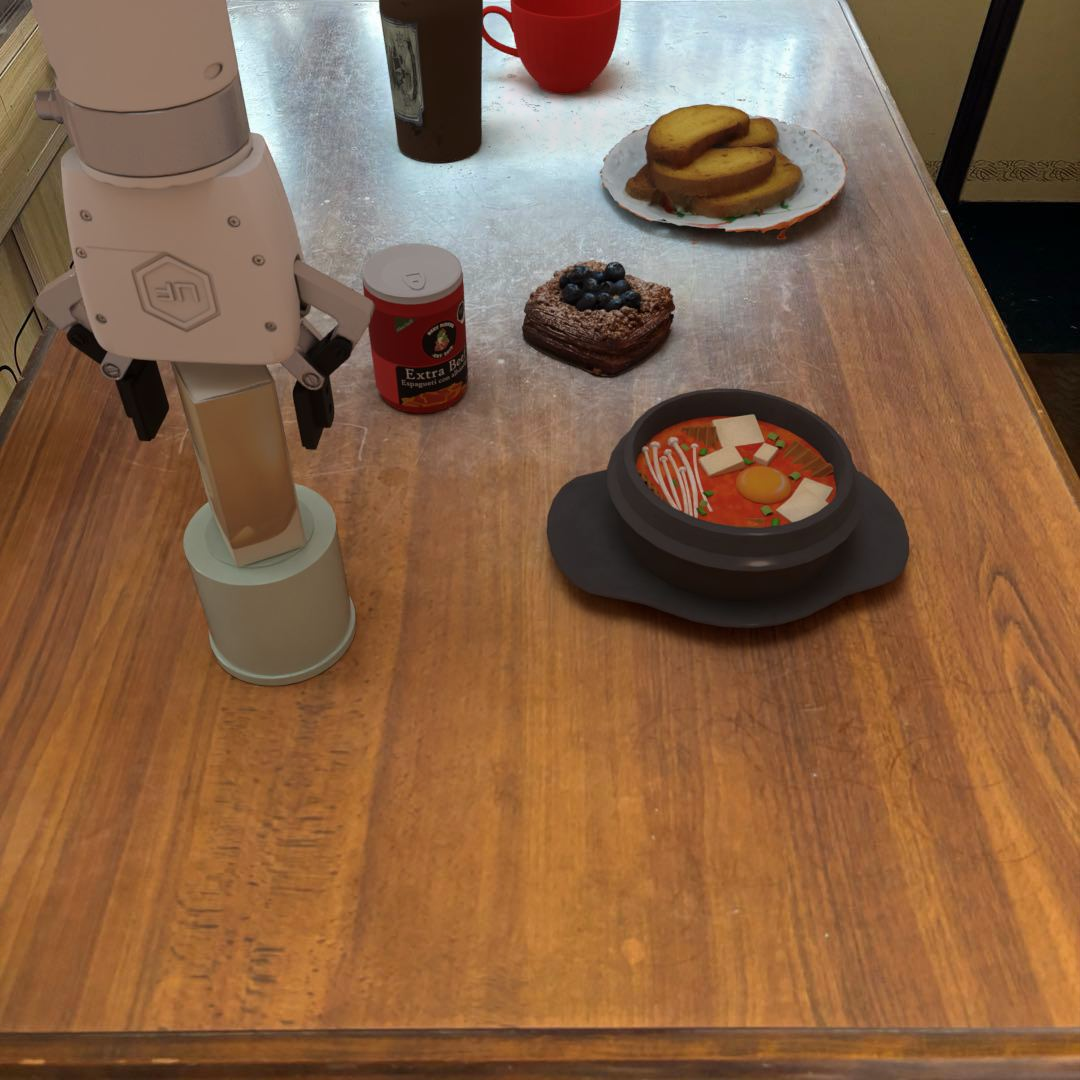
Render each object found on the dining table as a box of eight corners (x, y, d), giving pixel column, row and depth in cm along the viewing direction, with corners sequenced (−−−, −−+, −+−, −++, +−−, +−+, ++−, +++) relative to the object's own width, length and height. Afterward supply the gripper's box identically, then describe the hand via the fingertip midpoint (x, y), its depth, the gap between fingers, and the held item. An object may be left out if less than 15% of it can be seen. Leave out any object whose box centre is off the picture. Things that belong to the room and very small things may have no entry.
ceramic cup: (483, 61, 141) (480, -23, 134) (616, 63, 140) (620, -21, 133) (475, 103, 131) (471, 16, 124) (617, 106, 131) (622, 18, 124)
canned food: (404, 427, 87) (391, 307, 80) (359, 377, 92) (342, 260, 84) (487, 395, 90) (482, 277, 83) (438, 348, 95) (430, 232, 87)
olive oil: (455, 116, 129) (442, -127, 111) (505, 150, 123) (500, -103, 105) (375, 139, 124) (349, -111, 107) (423, 175, 118) (403, -84, 101)
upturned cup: (192, 681, 69) (157, 580, 63) (233, 573, 76) (205, 472, 69) (340, 690, 69) (320, 589, 62) (368, 581, 75) (352, 480, 69)
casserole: (555, 655, 71) (556, 563, 65) (538, 467, 84) (539, 376, 78) (938, 639, 72) (974, 547, 66) (862, 455, 85) (886, 365, 79)
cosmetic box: (207, 506, 67) (159, 336, 59) (277, 484, 69) (239, 315, 60) (237, 573, 63) (190, 402, 54) (310, 549, 64) (275, 378, 56)
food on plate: (840, 260, 106) (854, 196, 101) (584, 237, 109) (585, 174, 104) (839, 144, 123) (850, 85, 119) (618, 127, 127) (621, 69, 122)
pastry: (617, 387, 91) (620, 327, 87) (503, 337, 96) (501, 278, 92) (687, 328, 97) (693, 269, 93) (577, 284, 103) (578, 226, 98)
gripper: (-73, 150, 46) (54, 466, 58) (337, 165, 45) (379, 483, 57) (3, 78, 52) (105, 381, 64) (371, 91, 51) (403, 396, 63)
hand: (235, 428), depth 61 cm, fingers open, 8 cm apart
